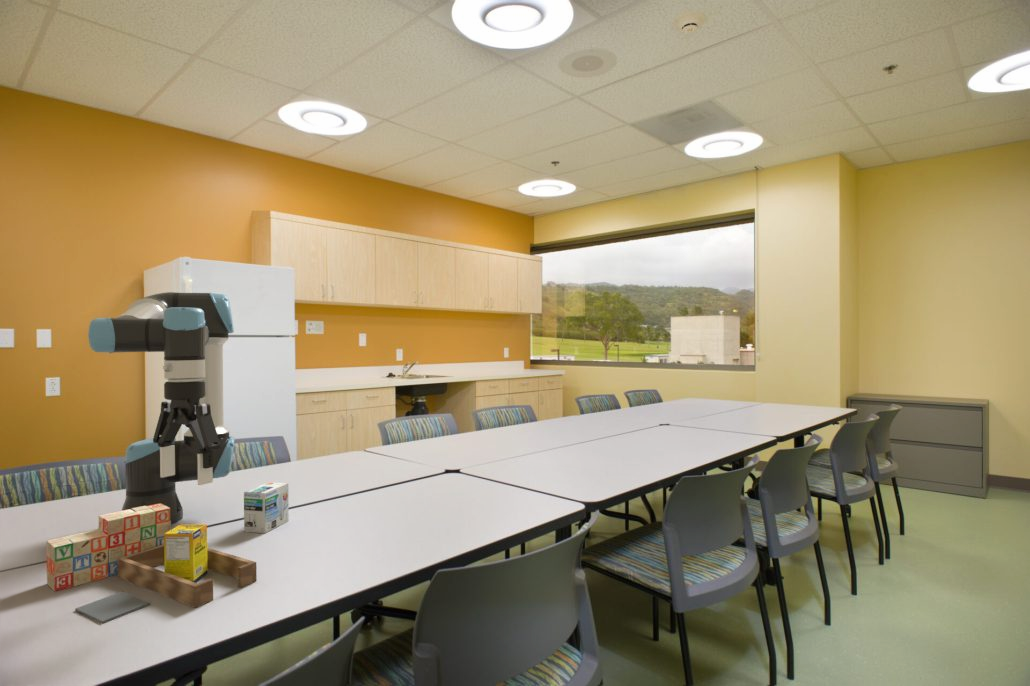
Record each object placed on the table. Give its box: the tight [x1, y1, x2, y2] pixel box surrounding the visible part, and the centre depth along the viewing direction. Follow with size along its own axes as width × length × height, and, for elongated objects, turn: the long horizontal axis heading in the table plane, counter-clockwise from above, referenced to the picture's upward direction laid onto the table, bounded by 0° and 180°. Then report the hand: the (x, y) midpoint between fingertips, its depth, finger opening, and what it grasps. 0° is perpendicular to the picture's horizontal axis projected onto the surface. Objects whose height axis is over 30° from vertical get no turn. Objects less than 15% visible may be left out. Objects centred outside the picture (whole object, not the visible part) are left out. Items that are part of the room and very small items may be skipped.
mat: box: [75, 591, 151, 625], centre depth 105 cm, size 10×8×1 cm
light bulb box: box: [243, 481, 290, 534], centre depth 150 cm, size 11×7×11 cm, turn 168°
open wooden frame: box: [117, 544, 258, 608], centre depth 117 cm, size 28×13×4 cm, turn 61°
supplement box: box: [163, 523, 209, 583], centre depth 117 cm, size 6×6×11 cm
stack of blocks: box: [46, 503, 172, 592], centre depth 122 cm, size 21×6×12 cm, turn 141°
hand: (186, 479), depth 117 cm, fingers open, 13 cm apart
